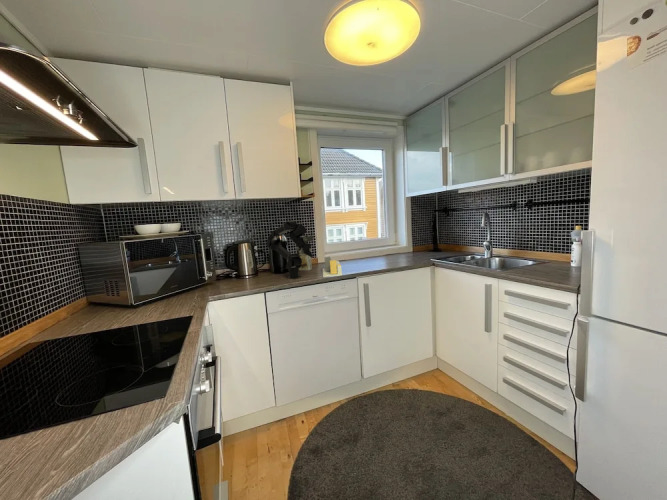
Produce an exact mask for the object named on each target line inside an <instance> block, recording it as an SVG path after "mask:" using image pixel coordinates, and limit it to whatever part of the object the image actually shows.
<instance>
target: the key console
mask: <svg viewBox="0 0 667 500" xmlns="http://www.w3.org/2000/svg"><path fill="white" fill-rule="evenodd" d="M336 265H337V274H331V272H330V271H328V272H326V269H325V268H324V267H323V268H322V277H323V278H325V277H327V278H328V277H339V276H343V273H342V272H343V271H342V270H343V269H342V265H341V263H340V261H339V260H336Z"/></svg>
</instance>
